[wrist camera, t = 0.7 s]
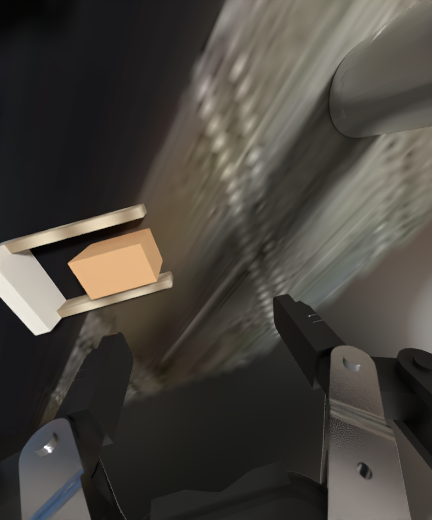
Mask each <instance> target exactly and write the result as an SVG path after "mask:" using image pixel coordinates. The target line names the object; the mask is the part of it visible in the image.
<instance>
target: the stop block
mask: <svg viewBox="0 0 432 520" xmlns="http://www.w3.org/2000/svg"><path fill="white" fill-rule="evenodd" d="M16 239H18V238H16ZM13 240H15V239H13ZM13 240H9V241H5V242H3V243H0V297H1V298H2V299H3V300H4V301H5V303H6V304H7V305H8V306H9V307H10V308H11V309H12V310H13V311H14V312H15V314H16V315H17V316H18V317H19V318H20V319H21V320H22V321H23V322H24V323H25V325H26V326H27V327H28V328H29V329H30V330H31V331H32V332H33V333H34V334H35V335H39V334H42V333H46V332H49V331H51V330H52V329H53V328H54V326H55V325H56V324H57V323H58V322H59V320H60V319H61V317H60V315H59V314H58V313H57V310H58V309H59V308H60V307H61V306H62V305H63V304H64V302H65V301H66V299H65V298H64V297H63V295H62V294H61V292H60V291H59V290H58V288H57V287H56V286H55V284H54V283H53V281H52V280H51V279H50V277H49V276H48V275H47V273H46V272H45V271H44V269H43V268H42V266H41V265H40V264H39V262H38V261H37V260H36V258H35V257H34V256H33V254H32V253H31V251H30V250H29V249H26V250H23V251H19V252H15V253H12V254H11V253H10V252H9V250H8V249H7V248H6V246H5V245H4V244H6V243H8V242H11V241H13Z"/></svg>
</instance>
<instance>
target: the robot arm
mask: <svg viewBox="0 0 432 520" xmlns="http://www.w3.org/2000/svg"><path fill="white" fill-rule="evenodd" d="M329 108H330V115H331V118H332V121H333V123H334V125H335V127H336V128H337V129H338V130H339V131H340V133H342V134H344V135H345V136H347V137H351V138H362V137H368V136H374V135H380V134H387V133H394V132H400V131H406V130H412V129H418V128H424V127H430V126H432V0H421V1H419V2H418V3H416V4H415V5H413V6H412V7H411V8H409V9H408V10H406V11H405V12H403V13H402V14H401V15H399V16H398V17H396V18H395V19H393V20H392V21H390V22H389V23H388V24H386V25H385V26H383V27H382V28H381V29H379V30H378V31H376V32H375V33H374V34H372V35H371V36H369V37H368V38H366V39H365V40H364V41H362V42H361V43H359V44H358V45H357V46H356V47H355V48H353V49H352V50H351V51H350V52H349V53H348V55H347V56H346V57H345V58H344V59H343V61H342V63H341V64H340V66H339V68H338V69H337V72H336V74H335V76H334V79H333V82H332V86H331V90H330V98H329ZM273 312H274V323H275V326H276V329H277V331H278V333H279V334H280V336H281V338H282V339H283V341H284V342H285V344H286V346H287V347H288V349H289V351H290V352H291V354H292V356H293V357H294V359H295V361H296V362H297V364H298V366H299V367H300V369H301V371H302V372H303V374H304V376H305V377H306V379H307V381H308V382H309V384H310V386H311V387H312V389H317V388H322V390H323V391H324V393H325V394H326V396H325V417H324V436H323V452H322V464H321V480H320V483H318V482H316V481H315V480H313V479H311V478H309V477H307V476H305V475H302V474H300V473H296V472H292V471H291V472H290V471H286V469H285V466H284V463H283V461H280V462H277V463H274V464H270V465H267V466H264V467H260V468H257V469H254V470H251V471H250V472H248V473H247V474H246V475H244V476H243V477H242V478H240V479H239V480H238V481H236V482H235V483H234V484H232V485H231V486H230V487H228V488H227V489H226V490H224V491H222V492H220V493H213V492H203V491H192V490H183V491H180V492H177V493H173V494H170V495H167V496H163V497H160V498H157V499H153V500H152V504H151V514H149V515H148V516H147V517H145V518H144V519H143V520H411V517H410V512H409V507H408V502H407V497H406V491H405V487H404V481H403V476H402V471H401V466H400V461H399V456H398V451H397V446H396V441H395V436H394V433H393V431H392V429H391V427H389V426H387V425H386V422H385V419H391V420H393V421H394V422H395V424H396V425H397V426H398V427H399V429H400V430H401V431H402V433H403V434H404V435H405V436H406V437H407V439H408V440H409V441H410V443H411V444H412V445H413V447H414V448H415V449H416V450H417V452H418V453H419V454H420V455H421V456H422V458H423V459H424V460H425V462H426V463H427V464H428V466H429V467H430V468H431V469H432V354H431V353H428V352H426V351H423V350H419V349H414V348H406V349H402V350H401V351H399V353H398V355H397V358H384V357H371V356H368V355H367V354H366V353H365V352H363V351H362V350H360V349H357V348H355V347H351V346H347V345H346V344H345V343H344V342H343V341H342V340H341V339H340V338H339V337H338V336H337V335H336V334H335V333H334V331H333V330H332V329H331V328H330V327H329V326H328V325H327V324H326V323H325V322H324V321H322V319H321V318H320V317H319V316H318V315H317V314H316V312H315V311H314V310H313V309H312V308H311V307H310V306H308V305H306V304H305V303H303V302H301V301H299V302H295V301H294V300H293V299H292V298H291V296H290V295H289V294H285V295H281V296H276V297H274V298H273ZM132 366H133V356H132V353H131V350H130V348H129V346H128V344H127V342H126V340H125V338H124V336H123V334H122V333H121V332H118V333H114V334H109V335H105V336H103V338H102V339H101V342H100V344H99V346H98V348H96V349H93V350H92V351H91V353H90V354H89V355H88V356H87V357H86V358H85V359H84V361H83V363H82V365H81V367H80V369H79V372H78V373H77V375H76V377H75V379H74V381H73V383H72V385H71V387H70V388H69V390H68V392H67V394H66V396H65V398H64V400H63V402H62V404H61V406H60V408H59V410H58V412H57V414H56V416H55V418H54V420H53V421H51V422H49V423H47V424H46V425H44V426H43V427H42V428H40V429H39V430H38V431H37V432H36V433H35V434H34V435H33V436H32V437H31V438H30V440H29V441H28V442H27V444H26V445H25V447H24V448H23V450H21V451H20V452H18V453H16V454H14V455H12V456H11V457H9V458H7V459H5V460H4V461H2V462H0V520H126V519H125V517H124V515H123V514H122V512H121V510H120V508H119V506H118V503H117V501H116V498H115V496H114V493H113V490H112V488H111V485H110V483H109V480H108V477H107V475H106V472H105V469H104V467H103V464H102V462H101V460H100V458H99V455H100V451H101V448H102V446H105V445H108V444H112V443H113V442H114V438H115V434H116V430H117V426H118V422H119V418H120V414H121V410H122V406H123V402H124V398H125V394H126V390H127V386H128V382H129V378H130V374H131V370H132Z"/></svg>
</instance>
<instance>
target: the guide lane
mask: <svg viewBox="0 0 432 520" xmlns="http://www.w3.org/2000/svg"><path fill="white" fill-rule="evenodd" d="M146 213H147V211H146V209H145V206H144V204H140V205H136V206H133V207H129V208H125V209H122V210H118V211H114V212H111V213H107V214H104V215H100V216H96V217H93V218H89V219H85V220H82V221H78V222H74V223H71V224H67V225H64V226H60V227H56V228H53V229H49V230H45V231H42V232H38V233H35V234H31V235H27V236H24V237H20V238H18V239H15V240H13V241H11V242H8V243H6V244H4V245H5V246H6V248H7V249H8V250H9V252H10V253H11V254H12V253H15V252H19V251H23V250H26V249H30V248H33V247H37V246H41V245H44V244H48V243H52V242H55V241H59V240H62V239H66V238H70V237H73V236H77V235H81V234H84V233H88V232H91V231H95V230H99V229H102V228H106V227H110V226H113V225H117V224H120V223H124V222H128V221H131V220H135V219H138V218H142V217H144V216H145V215H146ZM172 284H173V276H172V274H171V271H169V272H166V273H162V274H159V276H158V280H157V282H154V283H150V284H146V285H143V286H139V287H136V288H132V289H129V290H125V291H121V292H118V293H114V294H111V295H107V296H104V297H100V298H96V299H93V300H91V298H90V297H89V295H88V294H87V295H84V296H80V297H77V298H73V299H69V300H66V301H65V302H64V304H63V305H62V306H61V307H60V308H59V309H58V310H57V313H58V314H59V315H60V317H61V318H63V317H66V316H70V315H73V314H77V313H81V312H84V311H88V310H91V309H95V308H98V307H102V306H105V305H109V304H113V303H116V302H120V301H123V300H127V299H130V298H134V297H137V296H141V295H145V294H148V293H152V292H155V291H159V290H162V289H166V288H169V287H172Z"/></svg>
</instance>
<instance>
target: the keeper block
mask: <svg viewBox="0 0 432 520" xmlns="http://www.w3.org/2000/svg"><path fill="white" fill-rule="evenodd" d="M162 261H163V260H162V258H161V255H160V253H159V250H158V248H157V246H156V243H155V241H154V238H153V236H152V233H151V231H150V228H148V229H144V230H141V231H137V232H133V233H130V234H126V235H123V236H119V237H115V238H112V239H108V240H105V241H101V242H97V243H94V244H91V245H90V246H88V247H87V248H86V249H85V250H84V251H82V252H81V253H80V254H79V255H77V256H76V257H75V258H74V259H73V260H71V261H70V262H69V263H68V265H69V266H70V268H71V269H72V271H73V272H74V274H75V275H76V277H77V278H78V280H79V282H80V283H81V285H82V286H83V288H84V289H85V291H86V292H87V294H88V295H89V297H90V298H91V300H93V299H96V298H100V297H104V296H107V295H111V294H114V293H118V292H121V291H125V290H129V289H132V288H136V287H139V286H143V285H146V284H150V283H154V282H157V280H158V276H159V272H160V268H161V265H162Z"/></svg>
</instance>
